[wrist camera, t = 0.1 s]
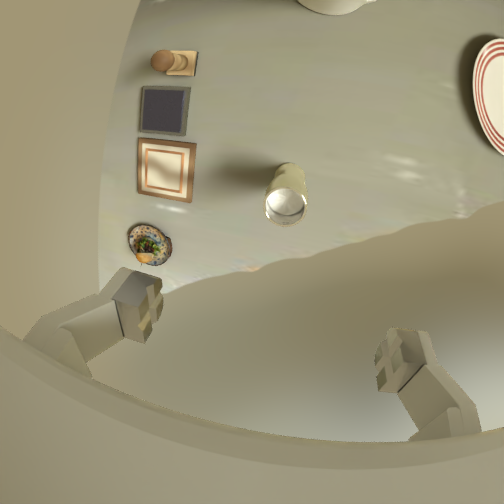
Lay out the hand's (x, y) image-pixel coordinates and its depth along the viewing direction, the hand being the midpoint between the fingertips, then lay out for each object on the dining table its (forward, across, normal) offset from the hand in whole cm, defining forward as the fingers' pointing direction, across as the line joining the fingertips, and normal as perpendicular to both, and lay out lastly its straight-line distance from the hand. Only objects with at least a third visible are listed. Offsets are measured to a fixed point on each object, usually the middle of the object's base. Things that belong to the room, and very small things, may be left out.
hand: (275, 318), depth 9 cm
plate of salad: (+48, +30, +33) cm, 66 cm away
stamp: (+48, +24, -10) cm, 54 cm away
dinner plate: (+48, -44, -23) cm, 70 cm away
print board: (+48, +26, +13) cm, 56 cm away
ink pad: (+48, +27, 0) cm, 55 cm away
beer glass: (+48, 0, +10) cm, 49 cm away
